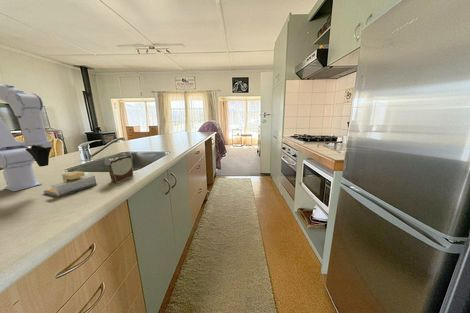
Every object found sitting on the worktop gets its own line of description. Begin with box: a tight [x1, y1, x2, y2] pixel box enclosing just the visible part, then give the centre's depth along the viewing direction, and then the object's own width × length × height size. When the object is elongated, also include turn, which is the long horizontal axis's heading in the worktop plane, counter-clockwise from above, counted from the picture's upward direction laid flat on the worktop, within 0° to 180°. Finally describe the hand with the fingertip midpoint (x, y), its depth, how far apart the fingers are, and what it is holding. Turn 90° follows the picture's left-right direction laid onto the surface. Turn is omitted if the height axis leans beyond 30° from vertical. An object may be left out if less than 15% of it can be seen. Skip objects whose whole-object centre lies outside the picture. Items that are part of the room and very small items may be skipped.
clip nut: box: [61, 170, 86, 182], centre depth 69 cm, size 5×4×5 cm
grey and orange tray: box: [43, 174, 98, 198], centre depth 69 cm, size 10×12×4 cm
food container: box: [103, 153, 134, 184], centre depth 78 cm, size 12×6×10 cm, turn 168°
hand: (43, 165), depth 68 cm, fingers closed
